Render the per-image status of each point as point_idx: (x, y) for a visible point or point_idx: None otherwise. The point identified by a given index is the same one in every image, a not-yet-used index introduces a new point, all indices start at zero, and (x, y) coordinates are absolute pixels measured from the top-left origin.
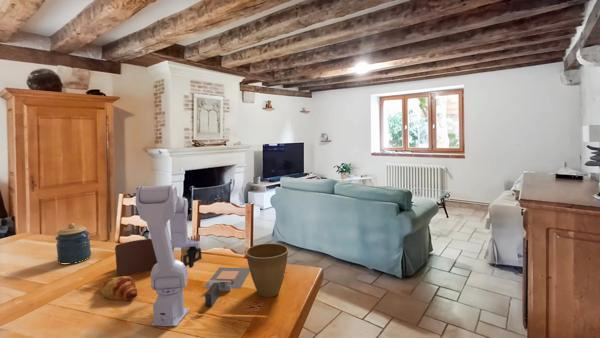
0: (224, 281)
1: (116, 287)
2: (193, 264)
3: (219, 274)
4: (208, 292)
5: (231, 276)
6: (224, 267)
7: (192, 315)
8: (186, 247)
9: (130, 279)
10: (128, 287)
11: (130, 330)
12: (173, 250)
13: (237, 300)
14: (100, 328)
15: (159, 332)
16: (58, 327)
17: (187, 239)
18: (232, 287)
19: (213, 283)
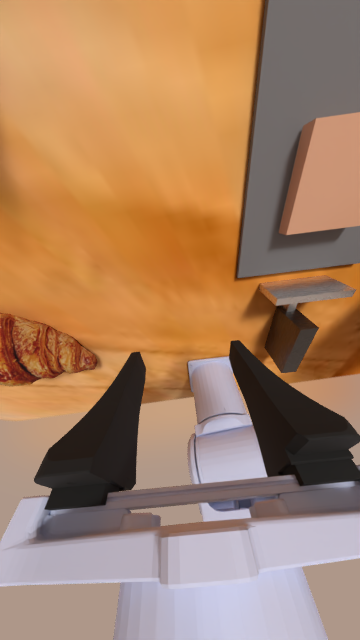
0: (331, 296)
1: (35, 380)
2: (242, 345)
3: (284, 132)
4: (288, 367)
5: (357, 198)
6: None
7: None
8: (258, 483)
9: (7, 345)
10: (57, 367)
11: (168, 398)
12: (112, 420)
13: (335, 312)
14: None
15: None
16: (63, 409)
17: (318, 620)
18: (335, 261)
19: (300, 333)
